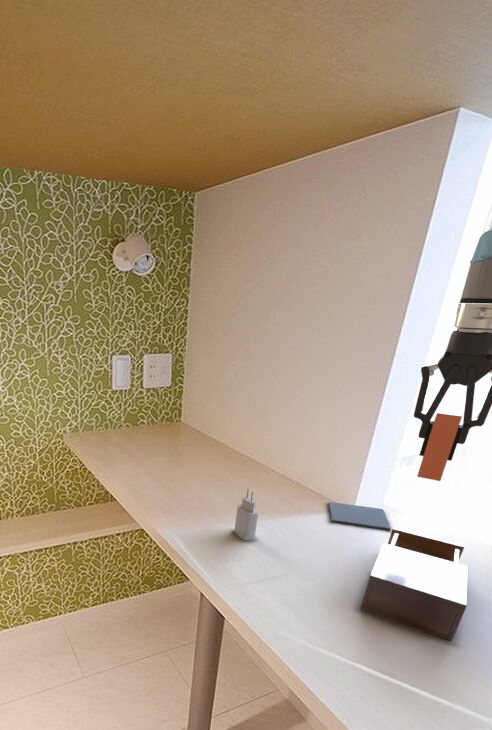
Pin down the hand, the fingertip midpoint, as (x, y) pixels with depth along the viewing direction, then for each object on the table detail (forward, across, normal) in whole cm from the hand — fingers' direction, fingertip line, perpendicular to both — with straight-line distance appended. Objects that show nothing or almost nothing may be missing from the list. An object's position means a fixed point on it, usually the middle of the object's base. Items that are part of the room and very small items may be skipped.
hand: (435, 456), depth 87 cm
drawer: (+24, +3, -3) cm, 24 cm away
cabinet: (+25, +3, -17) cm, 30 cm away
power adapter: (+25, -34, -10) cm, 43 cm away
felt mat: (+25, -12, +18) cm, 33 cm away
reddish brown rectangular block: (+4, 0, 0) cm, 4 cm away
